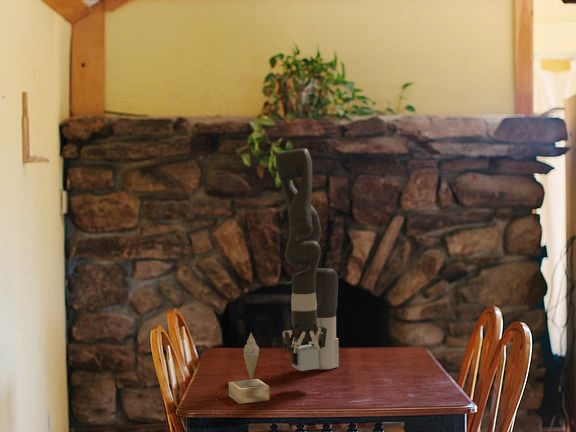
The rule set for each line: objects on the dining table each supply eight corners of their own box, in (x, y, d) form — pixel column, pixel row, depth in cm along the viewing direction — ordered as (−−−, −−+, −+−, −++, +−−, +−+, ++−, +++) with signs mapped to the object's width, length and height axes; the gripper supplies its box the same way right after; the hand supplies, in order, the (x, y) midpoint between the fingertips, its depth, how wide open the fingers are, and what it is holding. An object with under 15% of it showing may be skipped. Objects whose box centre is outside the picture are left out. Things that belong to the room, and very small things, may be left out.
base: (258, 392, 226) (257, 378, 226) (269, 400, 218) (269, 385, 218) (228, 395, 223) (228, 381, 223) (239, 403, 214) (238, 388, 214)
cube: (310, 364, 234) (309, 344, 234) (318, 368, 229) (318, 348, 228) (292, 366, 232) (291, 346, 231) (300, 371, 226) (300, 350, 226)
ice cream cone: (261, 378, 243) (261, 331, 243) (255, 382, 239) (255, 334, 238) (246, 377, 245) (246, 330, 245) (240, 381, 240) (240, 333, 240)
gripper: (320, 303, 236) (321, 358, 236) (276, 308, 230) (278, 363, 231) (331, 307, 229) (332, 363, 230) (287, 311, 223) (288, 369, 224)
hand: (305, 363), depth 230 cm, fingers closed on cube, 6 cm apart
